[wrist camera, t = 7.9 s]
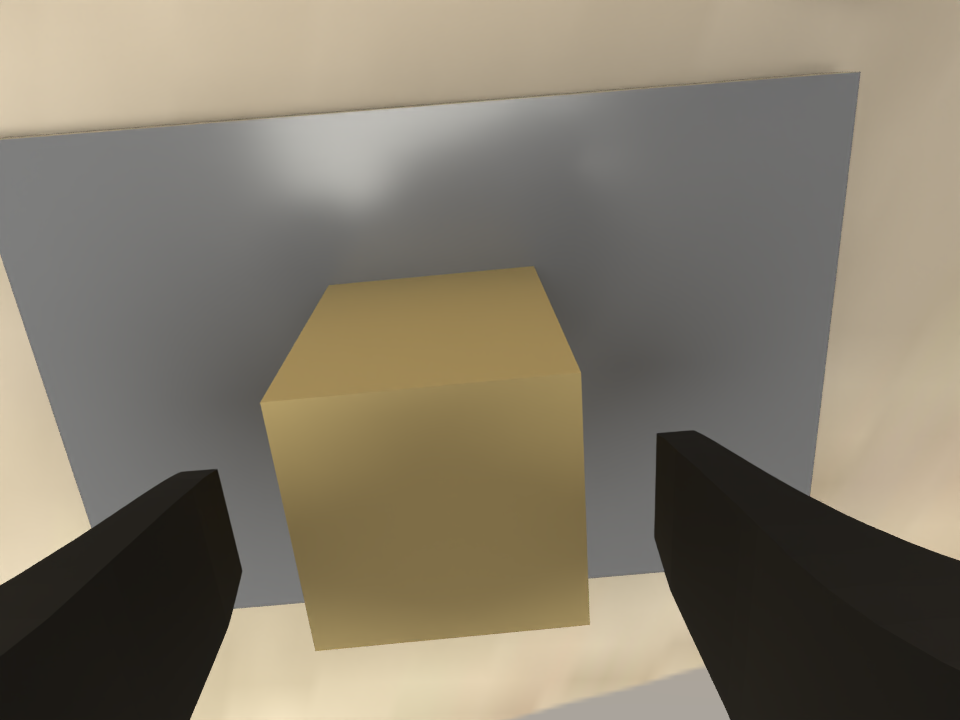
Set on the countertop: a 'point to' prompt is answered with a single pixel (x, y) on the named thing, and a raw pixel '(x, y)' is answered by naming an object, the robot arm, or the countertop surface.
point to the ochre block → (433, 460)
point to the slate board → (436, 251)
